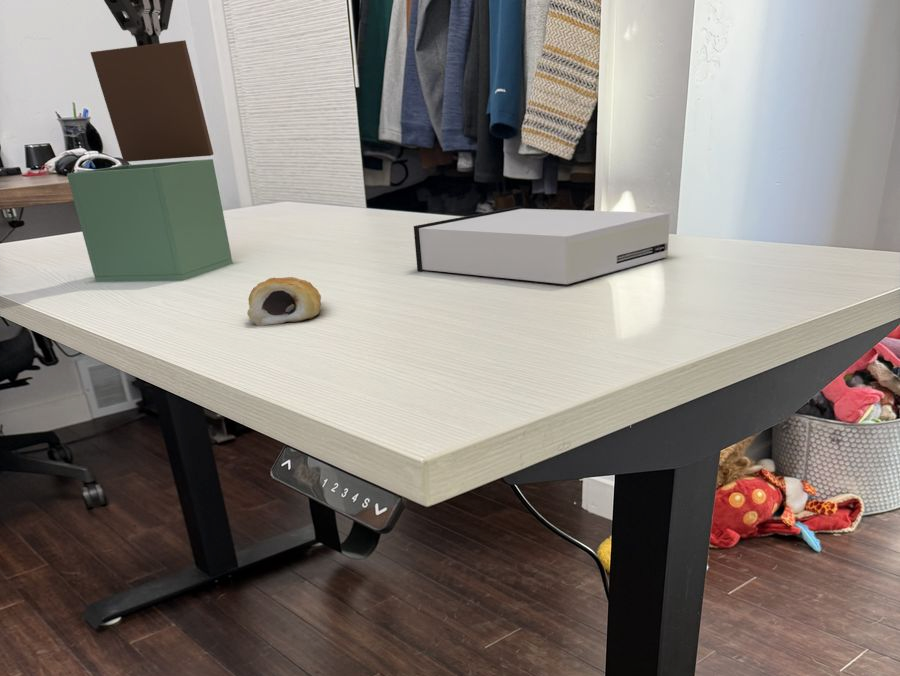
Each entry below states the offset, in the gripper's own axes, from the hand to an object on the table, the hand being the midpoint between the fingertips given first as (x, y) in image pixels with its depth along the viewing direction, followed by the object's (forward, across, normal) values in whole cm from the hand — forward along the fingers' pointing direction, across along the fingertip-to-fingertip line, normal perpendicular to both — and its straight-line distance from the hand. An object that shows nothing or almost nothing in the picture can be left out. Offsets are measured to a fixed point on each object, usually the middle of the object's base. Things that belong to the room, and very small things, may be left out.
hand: (154, 72), depth 108 cm
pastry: (+23, +32, +32) cm, 51 cm away
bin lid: (+4, +2, 0) cm, 4 cm away
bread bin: (+23, +7, 0) cm, 24 cm away
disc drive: (+23, +7, +51) cm, 57 cm away
